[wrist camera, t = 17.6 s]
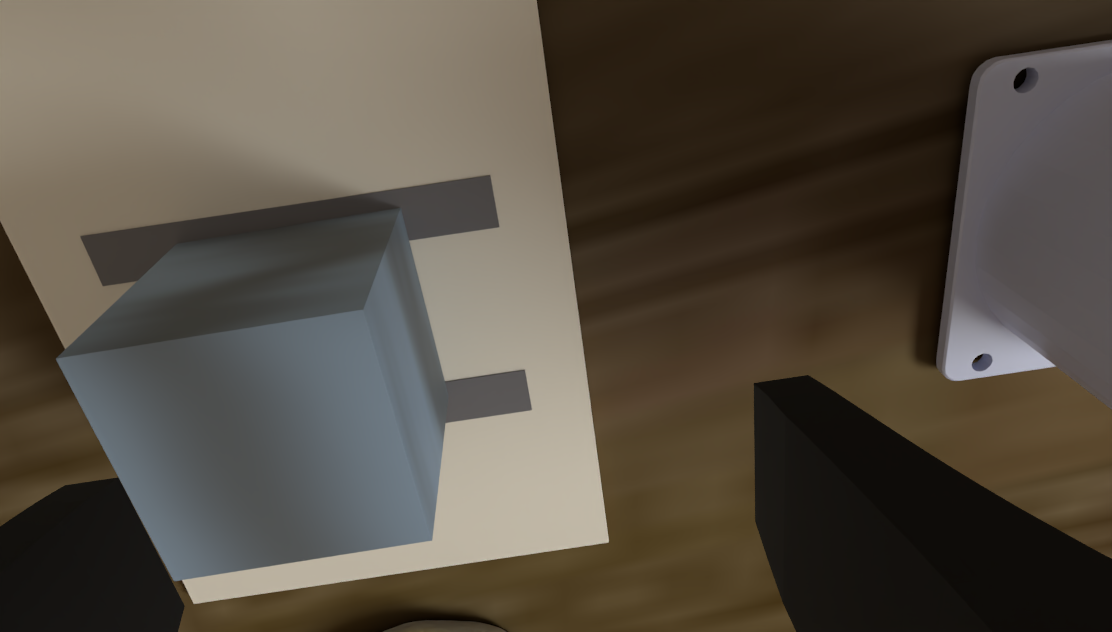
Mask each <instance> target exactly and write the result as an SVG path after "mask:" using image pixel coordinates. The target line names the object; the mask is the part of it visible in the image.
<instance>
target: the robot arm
mask: <svg viewBox="0 0 1112 632" xmlns="http://www.w3.org/2000/svg"><path fill="white" fill-rule="evenodd" d="M1023 69H1026V73H1027V76H1026V79H1025V81H1024V83H1023V84H1022V85H1021V86H1020V87H1019V88H1016V89H1014V84H1013V82H1014V79H1015V77H1016V75H1017V74H1018V73H1019V72H1020V71H1021V70H1023ZM981 354H983V356H982V358H981V359H980V360H978V361H977V362H975V363H972V362H973V360H974V359H975V358H976V357H977V356H978V355H981ZM936 365H937V368H938V370H939V371H940V372H941V373H942V374H943V375H944V376H945V377H946V378H947V379H950V380H952V381H962V380H968V379H975V378H982V377H989V376H995V375H1002V374H1009V373H1015V372H1022V371H1029V370H1036V369H1042V368H1049V367H1058V368H1059V369H1060V370H1061V371H1063V372H1064V373H1065V374H1067V375H1068V376H1069V377H1071V378H1072V379H1073V380H1074V381H1076V382H1077V383H1078V384H1080V385H1081V386H1082V387H1083V388H1085V389H1086V390H1087V391H1089V392H1090V393H1091V394H1092V395H1094V396H1095V397H1096V398H1098V399H1099V400H1100V401H1101V402H1103V403H1104V404H1105V405H1107V406H1108V407H1109V408H1110V409H1112V40H1107V41H1100V42H1093V43H1086V44H1080V45H1073V46H1066V47H1060V48H1053V49H1046V50H1039V51H1033V52H1026V53H1019V54H1013V55H1006V56H999V57H995V58H992V59H989V60H986V61H985V62H984V63H983V64H981V65H980V66H979V67H978V68H977V70H976V71H975V72H974V74H973V76H972V79H971V82H970V87H969V95H968V103H967V111H966V120H965V128H964V136H963V144H962V153H961V161H960V169H959V177H958V185H957V194H956V202H955V210H954V218H953V227H952V235H951V243H950V251H949V259H948V268H947V276H946V284H945V292H944V300H943V309H942V317H941V325H940V333H939V342H938V350H937V358H936ZM754 435H755V522H756V525H757V528H758V531H759V534H760V537H761V540H762V543H763V546H764V549H765V552H766V555H767V558H768V561H769V564H770V567H771V570H772V573H773V576H774V578H775V581H776V584H777V587H778V590H779V593H780V596H781V598H782V601H783V604H784V606H785V608H786V610H787V612H788V615H789V617H790V619H791V621H792V623H793V625H794V628H795V630H796V632H1112V559H1111V558H1109V557H1107V556H1105V555H1103V554H1101V553H1099V552H1098V551H1096V550H1094V549H1092V548H1090V547H1088V546H1086V545H1085V544H1083V543H1081V542H1079V541H1077V540H1076V539H1074V538H1072V537H1070V536H1068V535H1067V534H1065V533H1063V532H1061V531H1060V530H1058V529H1056V528H1054V527H1052V526H1051V525H1049V524H1047V523H1045V522H1043V521H1042V520H1040V519H1038V518H1036V517H1034V516H1033V515H1031V514H1029V513H1027V512H1025V511H1024V510H1022V509H1020V508H1018V507H1017V506H1015V505H1013V504H1011V503H1010V502H1008V501H1006V500H1005V499H1003V498H1001V497H1000V496H998V495H996V494H994V493H993V492H991V491H989V490H988V489H986V488H984V487H983V486H981V485H979V484H978V483H976V482H974V481H973V480H971V479H969V478H968V477H966V476H965V475H963V474H961V473H960V472H958V471H956V470H955V469H953V468H952V467H950V466H948V465H947V464H945V463H944V462H942V461H940V460H939V459H937V458H936V457H934V456H932V455H931V454H929V453H928V452H926V451H924V450H923V449H921V448H920V447H918V446H917V445H915V444H914V443H912V442H910V441H909V440H907V439H906V438H904V437H903V436H901V435H900V434H898V433H897V432H895V431H893V430H892V429H890V428H889V427H887V426H886V425H884V424H883V423H881V422H880V421H878V420H877V419H875V418H874V417H872V416H871V415H869V414H868V413H866V412H865V411H863V410H861V409H860V408H858V407H857V406H855V405H854V404H852V403H851V402H849V401H848V400H846V399H845V398H843V397H842V396H840V395H839V394H837V393H836V392H834V391H833V390H831V389H830V388H828V387H826V386H825V385H823V384H822V383H820V382H818V381H817V380H815V379H813V378H812V377H810V376H808V375H806V376H799V377H793V378H786V379H779V380H772V381H766V382H759V383H754ZM183 610H184V604H183V602H182V600H181V598H180V596H179V594H178V592H177V590H176V588H175V586H174V585H173V583H172V581H171V579H170V577H169V575H168V573H167V571H166V569H165V567H164V565H163V563H162V561H161V559H160V557H159V555H158V554H157V552H156V550H155V548H154V546H153V544H152V542H151V540H150V538H149V536H148V534H147V532H146V530H145V528H144V526H143V524H142V523H141V521H140V519H139V517H138V515H137V513H136V511H135V509H134V507H133V505H132V503H131V501H130V499H129V497H128V495H127V493H126V491H125V490H124V488H123V486H122V484H121V482H120V480H119V478H112V479H105V480H98V481H92V482H85V483H78V484H72V485H65V486H63V487H62V488H60V489H58V490H56V491H55V492H53V493H51V494H50V495H48V496H46V497H45V498H43V499H41V500H40V501H38V502H37V503H35V504H33V505H32V506H30V507H29V508H27V509H26V510H24V511H23V512H21V513H20V514H18V515H17V516H15V517H14V518H12V519H11V520H9V521H8V522H6V523H5V524H3V525H2V526H0V632H178V629H179V625H180V621H181V617H182V614H183Z"/></svg>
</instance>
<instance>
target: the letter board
mask: <svg viewBox="0 0 1112 632" xmlns="http://www.w3.org/2000/svg"><path fill="white" fill-rule="evenodd" d="M395 208H401V211H402V215H403V218H404V222H405V226H406V230H407V234H408V238H409V242H410V246H411V250H412V254H413V258H414V262H415V266H416V270H417V274H418V278H419V281H420V285H421V289H422V293H423V297H424V301H425V305H426V309H427V313H428V317H429V321H430V325H431V329H432V333H433V337H434V341H435V345H436V348H437V352H438V356H439V360H440V364H441V368H442V372H443V376H444V380H445V384H446V388H447V392H448V396H449V397H448V406H447V415H446V424H445V432H444V441H443V450H442V459H441V468H440V477H439V485H438V494H437V503H436V512H435V521H434V530H433V538H432V541H426V542H420V543H414V544H407V545H401V546H395V547H388V548H382V549H376V550H369V551H363V552H357V553H350V554H344V555H338V556H331V557H325V558H319V559H312V560H306V561H300V562H293V563H287V564H281V565H274V566H268V567H262V568H255V569H249V570H243V571H236V572H230V573H224V574H217V575H211V576H205V577H198V578H192V579H186V580H182V581H183V583H184V585H185V587H186V589H187V591H188V593H189V595H190V597H191V599H192V601H193V603H194V604H196V603H203V602H209V601H216V600H223V599H230V598H236V597H243V596H250V595H257V594H264V593H270V592H277V591H284V590H291V589H297V588H304V587H311V586H318V585H324V584H331V583H338V582H345V581H351V580H358V579H365V578H372V577H378V576H385V575H392V574H399V573H405V572H412V571H419V570H426V569H432V568H439V567H446V566H453V565H459V564H466V563H473V562H480V561H486V560H493V559H500V558H507V557H513V556H520V555H527V554H534V553H540V552H547V551H554V550H561V549H567V548H574V547H581V546H588V545H594V544H601V543H608V542H609V539H608V531H607V524H606V516H605V509H604V501H603V494H602V486H601V479H600V471H599V464H598V456H597V449H596V441H595V434H594V426H593V419H592V411H591V404H590V396H589V389H588V381H587V374H586V366H585V359H584V352H583V344H582V337H581V329H580V322H579V314H578V307H577V299H576V292H575V284H574V277H573V269H572V262H571V254H570V247H569V239H568V232H567V224H566V217H565V209H564V202H563V194H562V187H561V179H560V172H559V164H558V157H557V149H556V142H555V134H554V127H553V119H552V112H551V104H550V97H549V89H548V82H547V74H546V67H545V59H544V52H543V44H542V37H541V29H540V22H539V14H538V7H537V0H0V222H1V224H2V226H3V228H4V230H5V232H6V234H7V236H8V238H9V240H10V242H11V244H12V246H13V247H14V249H15V251H16V253H17V255H18V257H19V259H20V261H21V263H22V265H23V267H24V269H25V271H26V273H27V275H28V277H29V279H30V281H31V283H32V285H33V287H34V289H35V291H36V293H37V295H38V297H39V299H40V301H41V303H42V305H43V307H44V309H45V311H46V313H47V315H48V317H49V319H50V321H51V323H52V324H53V326H54V328H55V330H56V332H57V334H58V336H59V338H60V340H61V342H62V344H63V346H64V348H65V349H66V348H67V347H68V346H70V345H71V344H72V343H73V342H74V341H75V340H76V339H77V338H78V337H79V336H80V335H81V334H82V333H83V332H84V331H85V330H86V329H87V328H88V327H89V326H91V325H92V324H93V323H94V322H95V321H96V320H97V319H98V318H99V317H100V316H101V315H102V314H103V313H104V312H105V311H106V310H107V309H108V308H109V307H111V306H112V305H113V304H114V303H115V302H116V301H117V300H118V299H119V298H120V297H121V296H122V295H123V294H124V293H125V292H126V291H127V290H128V289H129V288H131V287H132V286H133V285H134V284H135V283H136V282H137V281H138V280H139V279H140V278H141V277H142V276H143V275H144V274H145V273H146V272H147V271H148V270H149V269H151V268H152V267H153V266H154V265H155V264H156V263H157V262H158V261H159V260H160V259H161V258H162V257H163V256H164V255H165V254H166V253H167V252H168V251H169V250H171V249H172V248H173V247H174V246H175V245H176V244H178V243H185V242H191V241H197V240H203V239H209V238H216V237H222V236H228V235H234V234H240V233H247V232H253V231H259V230H265V229H271V228H278V227H284V226H290V225H296V224H302V223H309V222H315V221H321V220H327V219H333V218H340V217H346V216H352V215H358V214H364V213H371V212H377V211H383V210H389V209H395Z"/></svg>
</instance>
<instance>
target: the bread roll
mask: <svg viewBox="0 0 1112 632" xmlns="http://www.w3.org/2000/svg"><path fill="white" fill-rule="evenodd" d="M383 632H506V631H505V630H503V629H501V628H499V627H496V626H493V625H489V624H485V623H480V622H475V621H453V620H423V621H414V622H409V623H404V624H402V625H399V626H397V627H394V628H391V629H388V630H385V631H383Z"/></svg>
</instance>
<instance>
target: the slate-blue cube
mask: <svg viewBox="0 0 1112 632" xmlns="http://www.w3.org/2000/svg"><path fill="white" fill-rule="evenodd" d="M56 360H57V362H58V364H59V366H60V368H61V370H62V372H63V374H64V375H65V377H66V379H67V381H68V383H69V385H70V387H71V389H72V391H73V392H74V394H75V396H76V398H77V400H78V402H79V404H80V406H81V407H82V409H83V411H84V413H85V415H86V417H87V419H88V421H89V422H90V424H91V426H92V428H93V430H94V432H95V434H96V436H97V437H98V439H99V441H100V443H101V445H102V447H103V449H104V451H105V452H106V454H107V456H108V458H109V460H110V462H111V464H112V466H113V468H114V469H115V471H116V473H117V475H118V477H119V479H120V481H121V483H122V484H123V486H124V488H125V490H126V492H127V494H128V496H129V498H130V499H131V501H132V503H133V505H134V507H135V509H136V511H137V513H138V514H139V516H140V518H141V520H142V522H143V524H144V526H145V528H146V529H147V531H148V533H149V535H150V537H151V539H152V541H153V543H154V545H155V546H156V548H157V550H158V552H159V554H160V556H161V558H162V560H163V561H164V563H165V565H166V567H167V569H168V571H169V573H170V575H171V576H172V578H173V580H174V581H179V580H186V579H192V578H198V577H205V576H211V575H217V574H224V573H230V572H236V571H243V570H249V569H255V568H262V567H268V566H274V565H281V564H287V563H293V562H300V561H306V560H312V559H319V558H325V557H331V556H338V555H344V554H350V553H357V552H363V551H369V550H376V549H382V548H388V547H395V546H401V545H407V544H414V543H420V542H426V541H432V538H433V530H434V521H435V512H436V503H437V494H438V485H439V477H440V468H441V459H442V450H443V441H444V432H445V424H446V415H447V406H448V397H449V396H448V392H447V388H446V384H445V380H444V376H443V372H442V368H441V364H440V360H439V356H438V352H437V348H436V345H435V341H434V337H433V333H432V329H431V325H430V321H429V317H428V313H427V309H426V305H425V301H424V297H423V293H422V289H421V285H420V281H419V278H418V274H417V270H416V266H415V262H414V258H413V254H412V250H411V246H410V242H409V238H408V234H407V230H406V226H405V222H404V218H403V215H402V211H401V208H395V209H389V210H383V211H377V212H371V213H364V214H358V215H352V216H346V217H340V218H333V219H327V220H321V221H315V222H309V223H302V224H296V225H290V226H284V227H278V228H271V229H265V230H259V231H253V232H247V233H240V234H234V235H228V236H222V237H216V238H209V239H203V240H197V241H191V242H185V243H178V244H176V245H175V246H174V247H173V248H172V249H171V250H169V251H168V252H167V253H166V254H165V255H164V256H163V257H162V258H161V259H160V260H159V261H158V262H157V263H156V264H155V265H154V266H153V267H152V268H151V269H149V270H148V271H147V272H146V273H145V274H144V275H143V276H142V277H141V278H140V279H139V280H138V281H137V282H136V283H135V284H134V285H133V286H132V287H131V288H129V289H128V290H127V291H126V292H125V293H124V294H123V295H122V296H121V297H120V298H119V299H118V300H117V301H116V302H115V303H114V304H113V305H112V306H111V307H109V308H108V309H107V310H106V311H105V312H104V313H103V314H102V315H101V316H100V317H99V318H98V319H97V320H96V321H95V322H94V323H93V324H92V325H91V326H89V327H88V328H87V329H86V330H85V331H84V332H83V333H82V334H81V335H80V336H79V337H78V338H77V339H76V340H75V341H74V342H73V343H72V344H71V345H70V346H68V347H67V348H66V349H65V350H64V351H63V352H62V353H61V354H60V355H59V356H58V357H57V358H56Z"/></svg>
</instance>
